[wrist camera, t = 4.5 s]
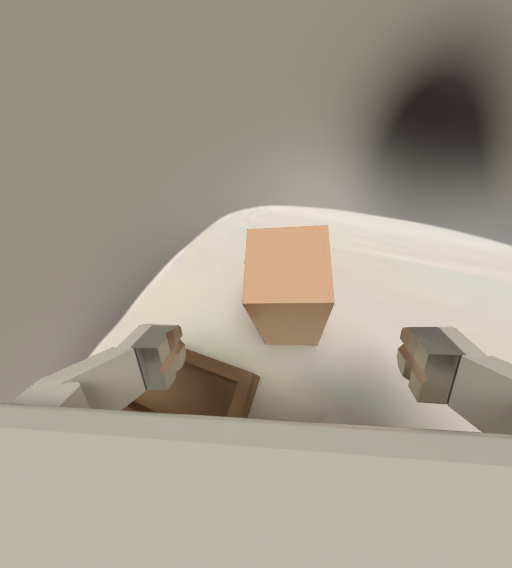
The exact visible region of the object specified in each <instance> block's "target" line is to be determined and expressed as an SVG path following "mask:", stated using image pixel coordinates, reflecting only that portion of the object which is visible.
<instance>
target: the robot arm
mask: <svg viewBox="0 0 512 568" xmlns="http://www.w3.org/2000/svg"><path fill="white" fill-rule="evenodd" d="M182 335H183V334H182V330H181V327H180V326H179V325H157V324H155V325H154V324H143V325H140V326H138V327H137V328H136V329H135V330H134V331H133V332H132V333H131V334H130V335H129V336H128V337H127V338H126V339H125V340H124V341H123V342H122V343H121V344H120V345H118V346H117V347H116V348H114V347H112V348H110V349H108V350H106V351H103V352H101V353H99V354H96V355H94V356H92V357H90V358H87V359H85V360H83V361H81V362H78V363H76V364H74V365H71V366H69V367H67V368H65V369H62V370H60V371H58V372H55V373H53V374H51V375H49V376H46V377H44V378H42V379H39V380H38V381H37V382H36V383H35V384H33V385H32V386H31V387H29V388H28V389H27V390H25V391H24V392H23V393H22V394H20V395H19V396H18V397H17V398H15V399H14V400H13V401H12V402H10V403H9V404H8V403H0V568H512V364H510V363H508V362H506V361H503V360H501V359H498V358H496V357H494V356H486V355H485V354H484V353H483V352H482V351H481V350H480V349H479V348H478V347H476V346H475V345H474V344H473V343H472V342H471V341H470V340H469V339H467V338H466V337H465V336H464V335H463V334H462V333H461V332H460V331H458V330H457V329H456V328H454V327H406V328H403V329H402V331H401V335H400V339H401V340H402V342H403V343H404V344H403V345H402V346H401V347H399V348H398V353H397V361H398V367H399V370H400V372H401V374H402V376H403V377H405V378H406V379H408V380H409V385H408V386H409V388H410V390H411V392H412V393H413V395H414V397H415V398H416V400H417V402H423V403H436V404H448V406H449V407H450V408H451V409H453V410H454V411H455V412H457V413H458V414H459V415H460V416H462V417H463V418H464V419H466V420H467V421H468V422H470V423H471V424H472V425H473V426H475V427H476V428H477V429H479V430H480V431H481V432H483V433H481V432H464V431H448V430H432V429H415V428H399V427H382V426H366V425H350V424H333V423H317V422H301V421H284V420H268V419H252V418H236V417H220V416H203V415H187V414H171V413H154V412H138V411H122V409H123V408H125V407H126V406H127V405H129V404H130V403H131V402H132V401H134V400H135V399H136V398H138V397H139V396H140V395H142V394H143V393H144V392H146V390H169V388H170V387H171V385H172V383H173V381H174V380H175V378H176V374H175V372H176V371H178V370H180V369H181V368H182V366H183V364H184V361H185V357H186V349H185V344H184V343H183V342H182V341H181V340H180V338H181V337H182Z"/></svg>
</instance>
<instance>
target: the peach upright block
mask: <svg viewBox="0 0 512 568" xmlns="http://www.w3.org/2000/svg"><path fill="white" fill-rule="evenodd" d="M242 304H243V306H244V307H245V309H246V311H247V312H248V314H249V316H250V317H251V319H252V321H253V323H254V324H255V326H256V328H257V329H258V331H259V333H260V334H261V336H262V338H263V339H264V341H265V343H266V344H269V345H318V343H319V340H320V338H321V335H322V333H323V330H324V328H325V325H326V323H327V320H328V318H329V315H330V313H331V310H332V308H333V305H334V291H333V279H332V268H331V256H330V244H329V232H328V225H320V226H302V227H283V228H264V229H247V240H246V255H245V270H244V285H243V300H242Z"/></svg>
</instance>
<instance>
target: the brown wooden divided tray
mask: <svg viewBox="0 0 512 568" xmlns="http://www.w3.org/2000/svg"><path fill="white" fill-rule="evenodd" d="M175 374H176V378H175V380H174V381H173V383H172V385H171V387H170V388H169V390H146V392H144V393H143V394H142V395H140V396H139V397H138V398H136V399H135V400H134V401H132V402H131V403H130V404H129V405H127V406H126V407H125V408H123V409H122V411H138V412H154V413H171V414H187V415H203V416H220V417H236V418H247V416H248V413H249V410H250V407H251V404H252V401H253V398H254V395H255V392H256V388H257V385H258V382H259V379H260V377H259V376H257V375H255V374H253V373H250V372H248V371H245V370H242V369H239V368H237V367H234V366H231V365H228V364H226V363H223V362H220V361H218V360H215V359H212V358H209V357H207V356H204V355H201V354H198V353H196V352H193V351H190V350H187V349H186V357H185V361H184V364H183V366H182V368H181V369H180V370H178V371H176V372H175Z"/></svg>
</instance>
